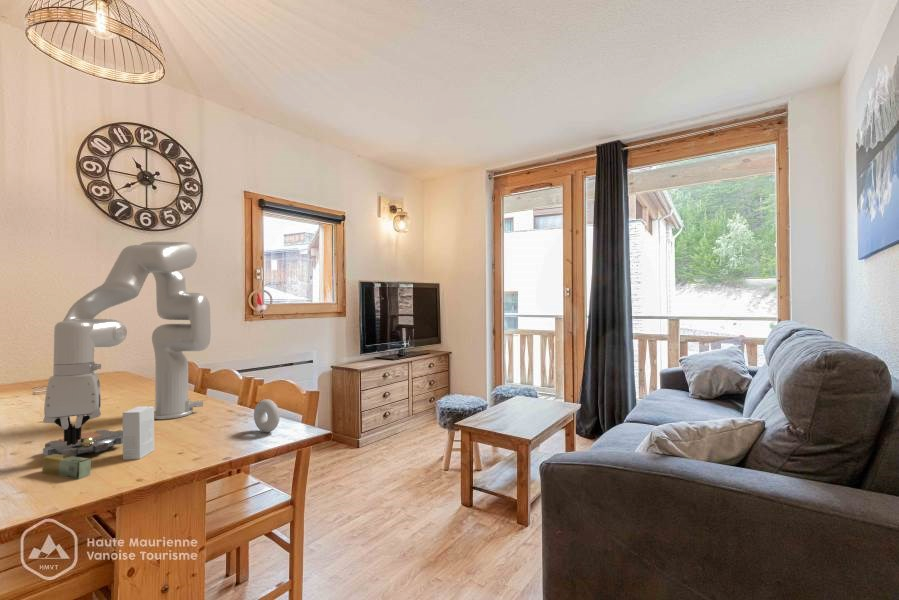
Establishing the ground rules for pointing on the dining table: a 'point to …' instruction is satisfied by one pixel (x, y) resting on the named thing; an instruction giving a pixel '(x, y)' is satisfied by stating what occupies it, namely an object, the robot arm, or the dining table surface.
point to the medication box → (66, 466)
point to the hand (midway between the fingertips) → (72, 443)
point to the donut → (272, 414)
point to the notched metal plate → (85, 443)
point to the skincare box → (138, 432)
